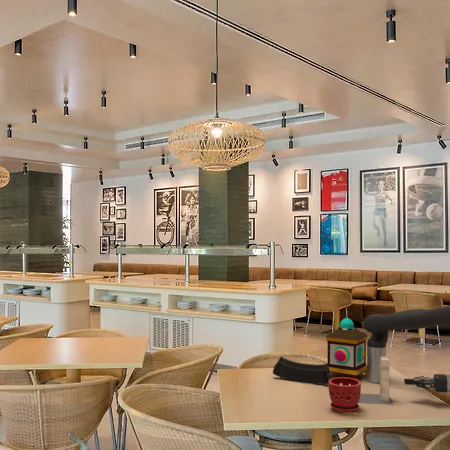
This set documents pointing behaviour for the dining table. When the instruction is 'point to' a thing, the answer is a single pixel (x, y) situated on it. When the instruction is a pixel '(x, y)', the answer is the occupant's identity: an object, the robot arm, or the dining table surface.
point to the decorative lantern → (347, 350)
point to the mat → (373, 399)
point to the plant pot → (344, 394)
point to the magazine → (302, 372)
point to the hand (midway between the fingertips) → (404, 381)
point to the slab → (384, 379)
